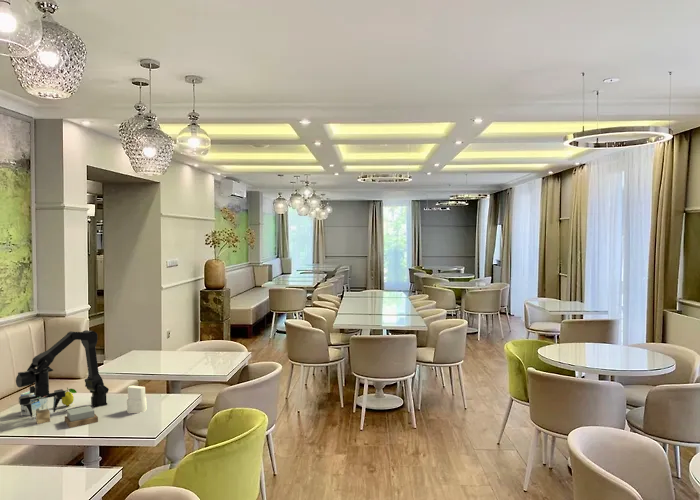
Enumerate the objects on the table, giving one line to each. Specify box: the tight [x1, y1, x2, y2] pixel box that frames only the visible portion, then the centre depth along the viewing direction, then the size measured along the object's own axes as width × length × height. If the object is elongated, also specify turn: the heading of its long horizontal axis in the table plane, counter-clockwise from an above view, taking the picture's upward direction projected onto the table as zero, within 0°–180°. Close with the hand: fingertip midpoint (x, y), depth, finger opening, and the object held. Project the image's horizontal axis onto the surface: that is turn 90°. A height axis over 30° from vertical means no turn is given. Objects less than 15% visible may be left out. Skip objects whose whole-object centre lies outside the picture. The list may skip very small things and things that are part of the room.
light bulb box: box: [19, 390, 49, 417], centre depth 261 cm, size 11×7×11 cm, turn 168°
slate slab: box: [66, 405, 96, 422], centre depth 246 cm, size 10×10×3 cm
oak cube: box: [35, 408, 51, 425], centre depth 247 cm, size 5×5×5 cm
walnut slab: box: [64, 412, 99, 429], centre depth 246 cm, size 12×12×3 cm
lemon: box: [61, 387, 77, 407], centre depth 270 cm, size 7×6×10 cm
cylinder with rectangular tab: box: [126, 385, 148, 414], centre depth 260 cm, size 9×9×12 cm
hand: (43, 414), depth 247 cm, fingers open, 9 cm apart
